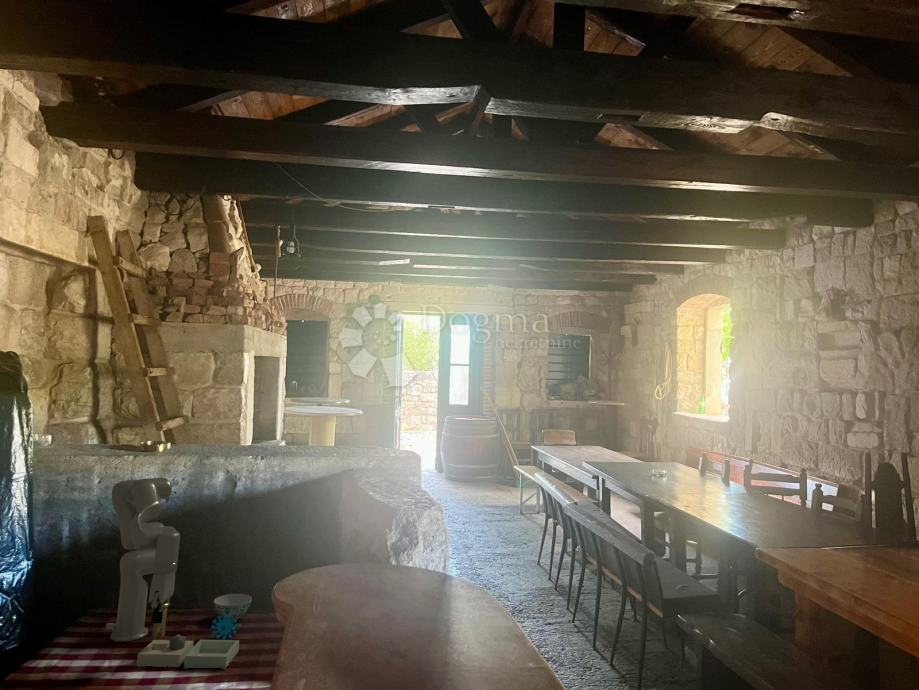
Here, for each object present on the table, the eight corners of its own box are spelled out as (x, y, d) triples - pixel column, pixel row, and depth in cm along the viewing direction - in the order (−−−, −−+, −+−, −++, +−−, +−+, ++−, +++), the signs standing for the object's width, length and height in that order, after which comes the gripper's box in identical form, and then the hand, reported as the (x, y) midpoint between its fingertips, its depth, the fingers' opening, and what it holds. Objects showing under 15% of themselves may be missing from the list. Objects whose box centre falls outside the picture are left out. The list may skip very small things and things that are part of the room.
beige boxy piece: (136, 666, 196) (139, 641, 197) (152, 651, 208) (155, 628, 209) (178, 667, 197) (181, 642, 198) (192, 652, 209) (194, 629, 210)
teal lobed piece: (210, 638, 217) (212, 613, 225) (206, 646, 220) (208, 620, 227) (240, 638, 223) (241, 613, 230) (236, 645, 225) (237, 620, 233)
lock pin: (147, 638, 201) (150, 605, 202) (154, 632, 206) (157, 600, 207) (162, 638, 201) (166, 606, 202) (169, 632, 206) (172, 601, 207)
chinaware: (212, 614, 247) (213, 595, 248) (249, 610, 253) (250, 592, 253) (212, 626, 233) (214, 606, 234) (251, 623, 239) (253, 603, 240)
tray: (183, 668, 196) (184, 656, 197) (199, 651, 210) (200, 639, 210) (225, 669, 197) (226, 656, 197) (238, 651, 211) (239, 640, 211)
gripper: (164, 560, 214) (159, 611, 212) (143, 573, 197) (137, 629, 195) (185, 561, 214) (180, 612, 213) (165, 574, 198) (160, 630, 196)
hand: (159, 619), depth 204 cm, fingers closed on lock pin, 4 cm apart
